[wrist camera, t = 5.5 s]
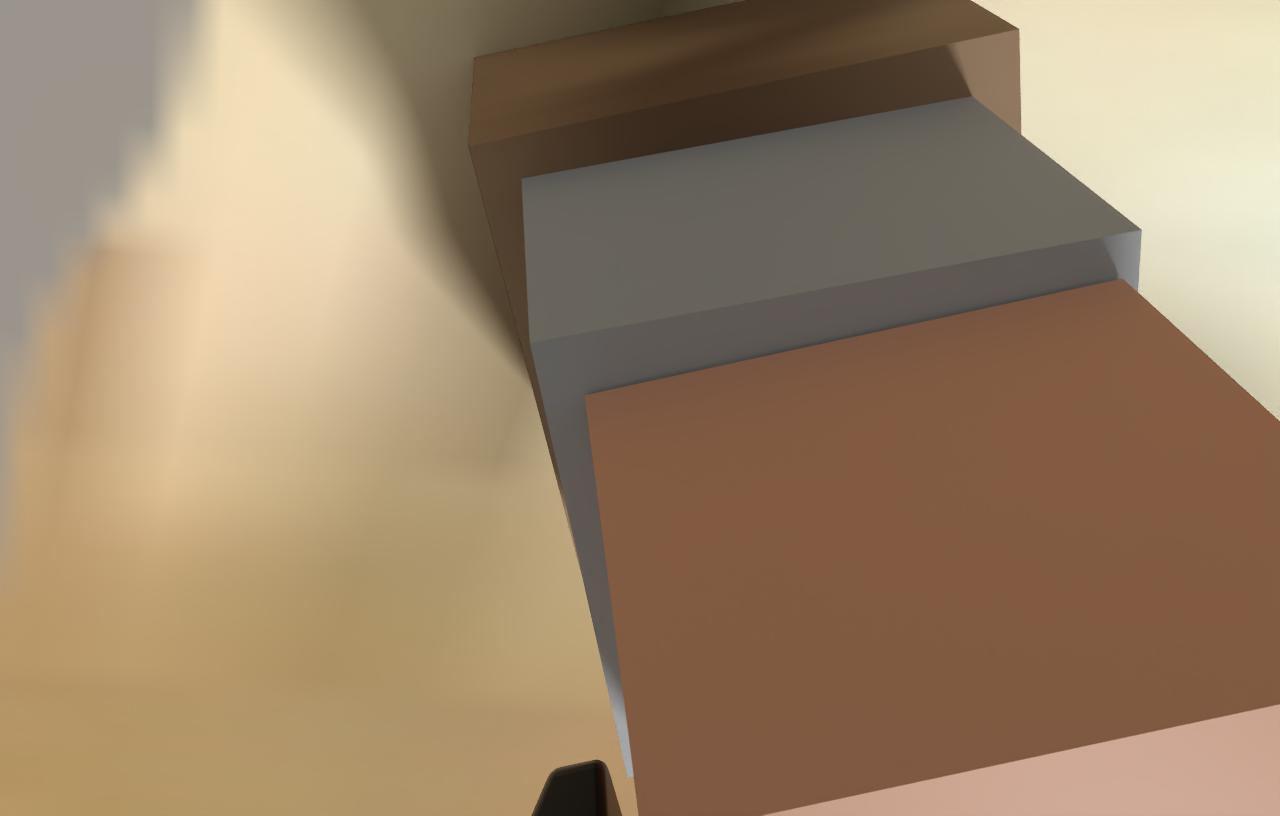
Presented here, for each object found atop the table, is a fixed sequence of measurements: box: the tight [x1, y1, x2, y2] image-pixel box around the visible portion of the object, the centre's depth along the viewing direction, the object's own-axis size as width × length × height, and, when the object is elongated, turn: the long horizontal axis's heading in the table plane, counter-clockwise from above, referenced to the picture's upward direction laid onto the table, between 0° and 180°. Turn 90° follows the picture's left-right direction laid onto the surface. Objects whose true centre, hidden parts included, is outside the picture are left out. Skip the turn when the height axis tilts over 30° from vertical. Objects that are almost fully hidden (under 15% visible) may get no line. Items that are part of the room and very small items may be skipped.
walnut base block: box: [469, 0, 1021, 578], centre depth 16 cm, size 6×6×4 cm
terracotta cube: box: [584, 278, 1280, 816], centre depth 9 cm, size 4×4×4 cm
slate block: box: [521, 96, 1142, 777], centre depth 13 cm, size 5×5×4 cm
